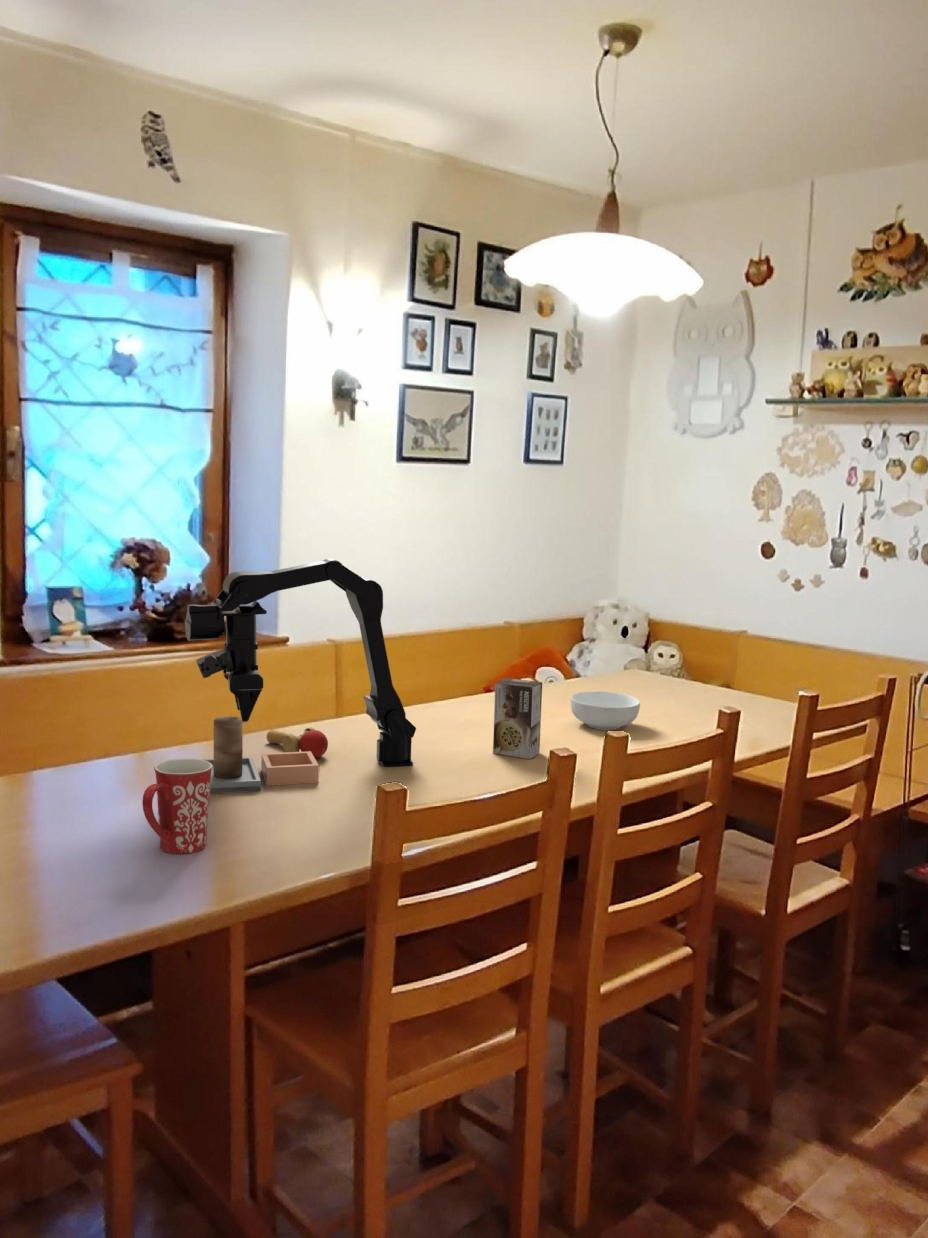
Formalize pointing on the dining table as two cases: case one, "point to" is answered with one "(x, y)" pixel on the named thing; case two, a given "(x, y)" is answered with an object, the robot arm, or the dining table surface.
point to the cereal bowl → (604, 709)
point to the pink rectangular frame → (289, 768)
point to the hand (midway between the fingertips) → (242, 715)
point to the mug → (180, 804)
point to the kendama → (301, 741)
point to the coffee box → (517, 718)
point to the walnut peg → (228, 747)
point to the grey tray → (237, 779)
